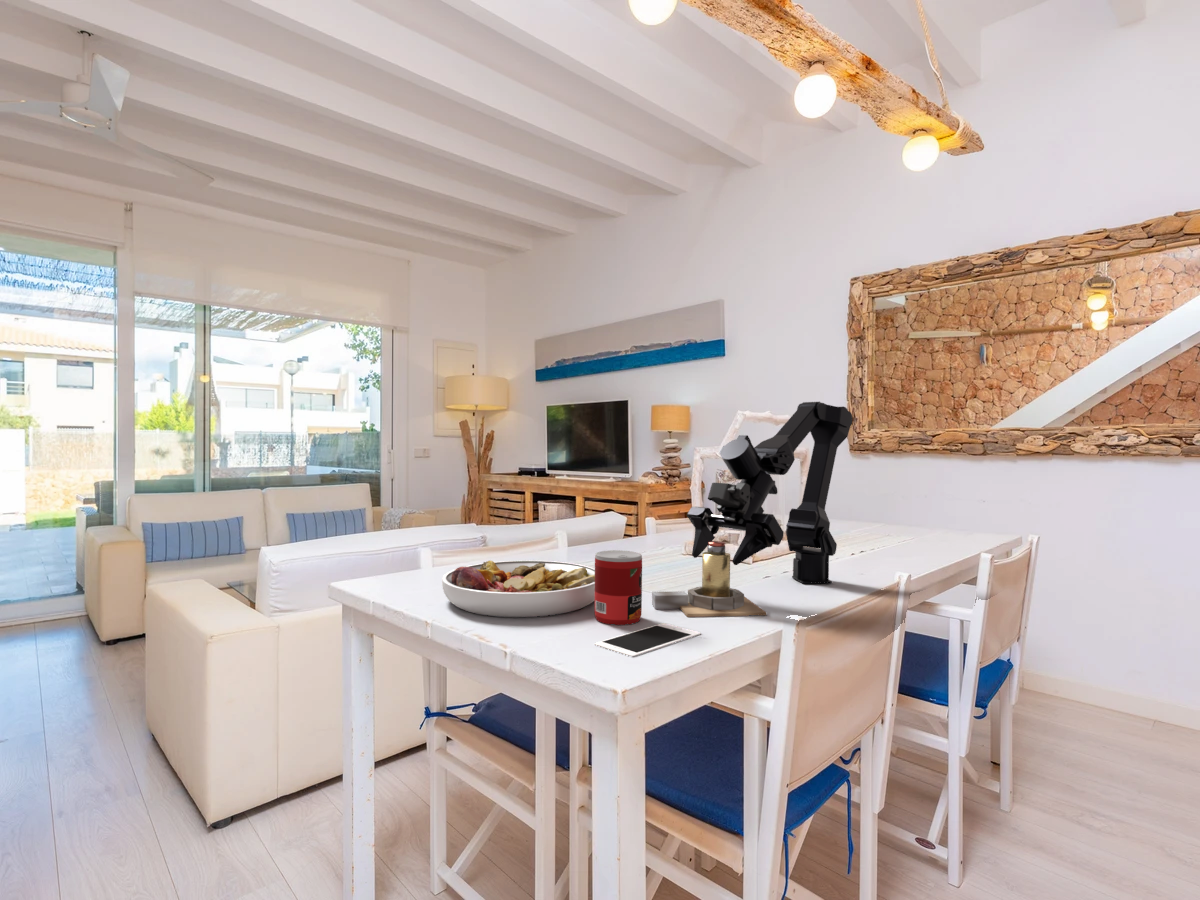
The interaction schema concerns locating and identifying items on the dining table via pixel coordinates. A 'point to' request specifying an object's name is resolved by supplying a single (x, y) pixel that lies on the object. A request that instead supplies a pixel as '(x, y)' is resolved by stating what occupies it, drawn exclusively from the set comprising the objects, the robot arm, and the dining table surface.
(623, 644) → the cell phone
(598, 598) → the canned food
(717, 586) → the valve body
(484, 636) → the dining table surface
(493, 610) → the bowl
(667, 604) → the socket
